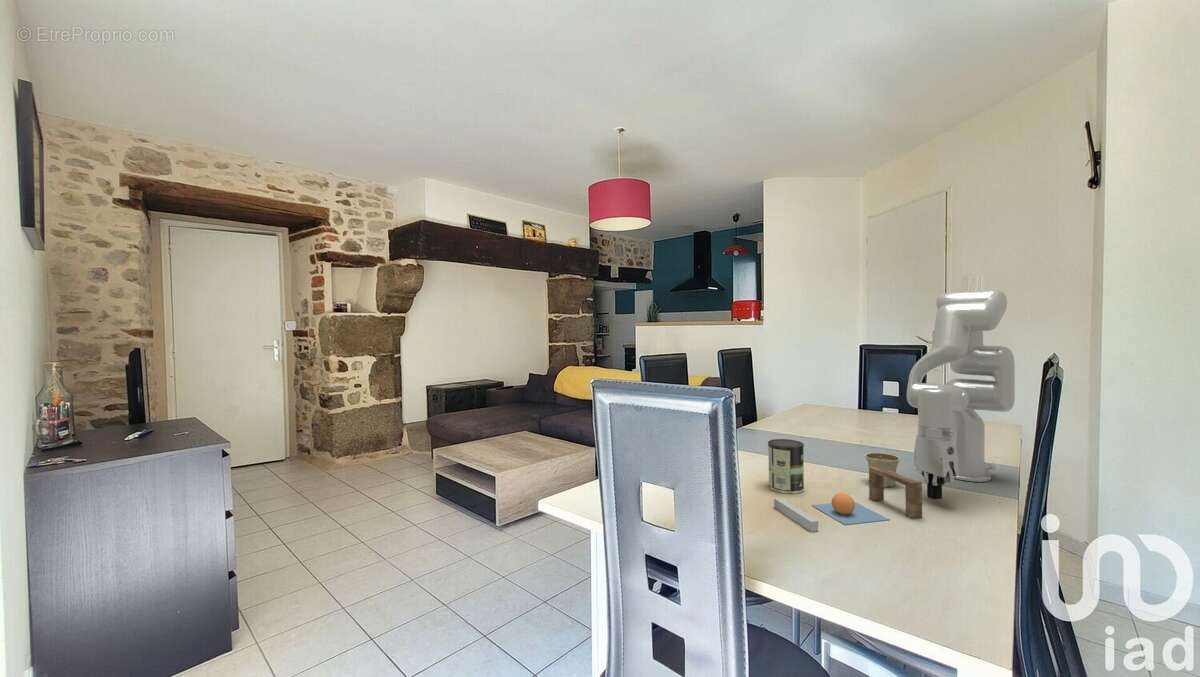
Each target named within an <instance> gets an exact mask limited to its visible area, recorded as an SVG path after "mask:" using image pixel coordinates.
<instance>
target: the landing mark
mask: <svg viewBox="0 0 1200 677" xmlns="http://www.w3.org/2000/svg"><path fill="white" fill-rule="evenodd" d="M854 502H855V509H854V511H853V512H852V513H850V514H848V515H842V514H839V513H838V512H836V511H835V510H834V508H833V506H832V502H830V503H829V502H828V503H819V504H811V506H812V507H813V508H815V509H816V510H818V511H820V512H822V513H823V514H825V515H827V516H828V517H830V518H831V519H833V520H835V521H837V522H839V523H841V524H842V525H844V526H849V525H850V526H851V525H857V524H858V525H859V524H865V523H866V524H867V523H876V522H884V521H890V518H888V517H886V516H883V515H882V514H880V513H878V512H876V511H874V510H871V509H870V508H868V507H865V506H863V505H861V504H860V503H858V502H856V501H854Z"/></svg>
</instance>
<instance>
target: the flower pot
mask: <svg viewBox="0 0 1200 677" xmlns="http://www.w3.org/2000/svg"><path fill="white" fill-rule="evenodd" d="M864 457H865V459H866V462H867V464H868V468H869V467H874V466H879V467H882V468H884V469H887V470H890V471H893V472H895V473H897V470H898V469H897V468H898V465H899V462H900V461H901V458H900V456H898V455H894V454H889V453H883V452H868V453H865V454H864ZM895 483H896V482H895V481H893V480H890V479H888V478H885V477H884V488H888V487H894V486H895Z"/></svg>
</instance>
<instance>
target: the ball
mask: <svg viewBox="0 0 1200 677" xmlns="http://www.w3.org/2000/svg"><path fill="white" fill-rule="evenodd" d="M855 502H856V501H855V500H854V498H853V497H852V496H851V495H850V494H848V493H846V492H838V493H836V494H834V495H833V497H832V499H831V503H832V506H833V508H834V510H835V511H836V512H838V513H839V514H842V515H848V514H850V513H852V512H853V511H854V509H855Z"/></svg>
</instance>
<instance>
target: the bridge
mask: <svg viewBox="0 0 1200 677" xmlns="http://www.w3.org/2000/svg"><path fill="white" fill-rule="evenodd" d="M884 477H885V478H888V479H890V480H893V481H895V483H898V484H901V485H903V486H905V517H907V518H909V519H911V520H915V519H923V482H922V481H919V480H916V479H914V478H911V477H908V476H906V475H903V474H901V473H898V472H896V473H895V472H893V471H890V470H887V469H884V468H882V467H879V466H874V467H869V466H868V490H869V492H868V497H869V500H871V501H873V502H882V501H884V500H885V487H884Z"/></svg>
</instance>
